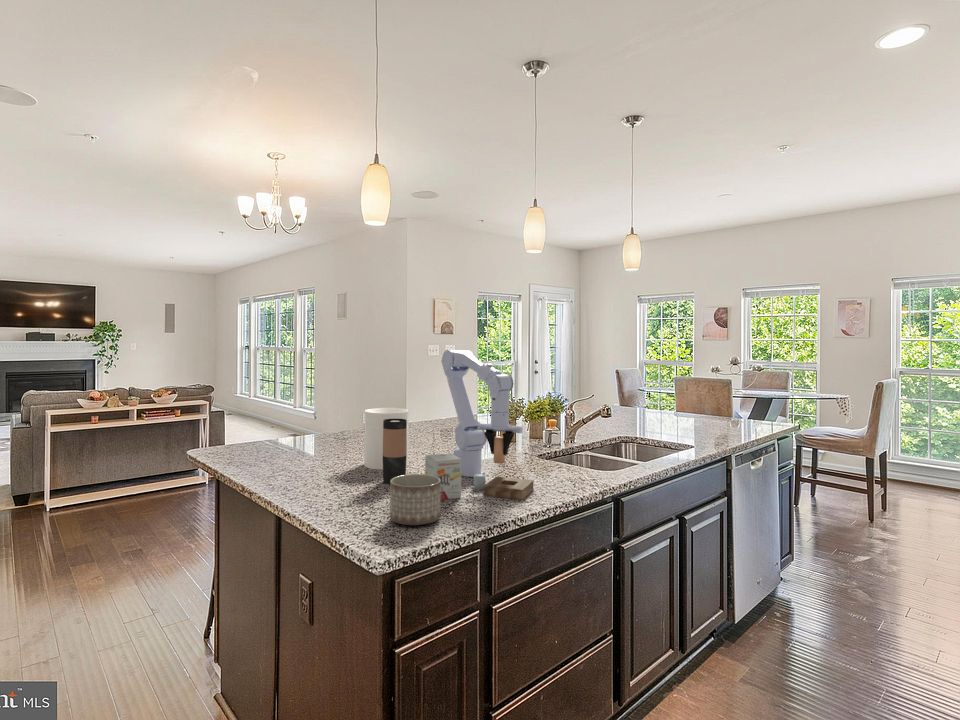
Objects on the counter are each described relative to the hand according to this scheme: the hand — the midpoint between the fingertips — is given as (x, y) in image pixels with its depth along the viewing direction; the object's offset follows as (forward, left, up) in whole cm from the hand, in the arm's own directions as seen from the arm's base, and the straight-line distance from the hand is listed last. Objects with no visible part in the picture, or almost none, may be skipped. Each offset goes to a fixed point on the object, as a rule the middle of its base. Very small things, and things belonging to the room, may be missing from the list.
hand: (499, 453), depth 172 cm
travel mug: (-32, -11, -10) cm, 35 cm away
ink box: (-11, -19, -10) cm, 24 cm away
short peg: (-4, -7, -10) cm, 13 cm away
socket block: (+6, -8, -10) cm, 14 cm away
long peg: (0, 0, -3) cm, 3 cm away
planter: (-8, -42, -10) cm, 44 cm away
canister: (-47, +9, -10) cm, 49 cm away
